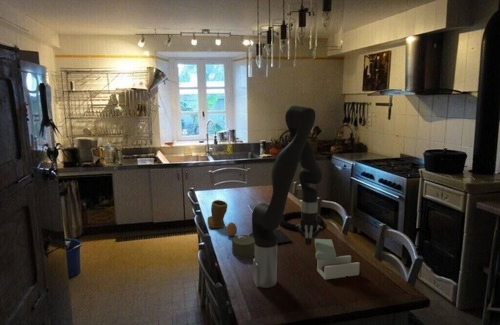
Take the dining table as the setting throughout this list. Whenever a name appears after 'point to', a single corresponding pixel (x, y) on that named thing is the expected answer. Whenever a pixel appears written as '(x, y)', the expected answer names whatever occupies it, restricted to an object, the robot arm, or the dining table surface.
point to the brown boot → (217, 214)
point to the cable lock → (293, 226)
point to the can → (243, 246)
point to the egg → (231, 229)
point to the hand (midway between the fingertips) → (308, 244)
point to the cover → (324, 249)
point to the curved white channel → (337, 267)
